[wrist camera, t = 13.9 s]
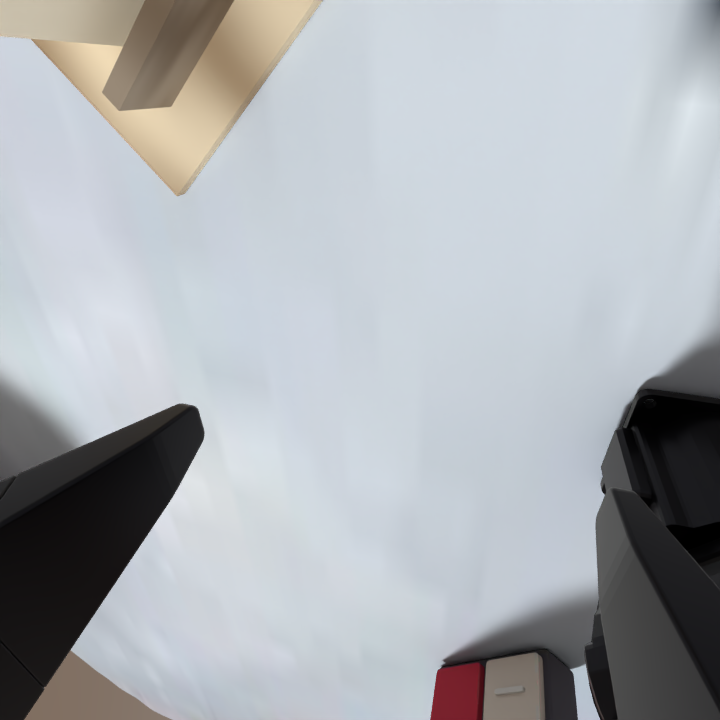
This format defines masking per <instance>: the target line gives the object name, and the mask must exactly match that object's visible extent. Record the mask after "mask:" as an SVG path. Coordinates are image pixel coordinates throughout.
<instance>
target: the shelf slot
mask: <svg viewBox="0 0 720 720" xmlns="http://www.w3.org/2000/svg"><path fill="white" fill-rule="evenodd" d="M322 1H323V0H145V1H144V3H143V6H142V8H141V10H140V12H139V14H138V16H137V18H136V20H135V23H134V25H133V27H132V29H131V31H130V33H129V35H128V38H127V40H126V42H125V44H124V46H112V45H100V44H88V43H76V42H64V41H52V40H39V39H31V40H32V41H33V42H34V43H35V44H36V45H37V46H38V47H39V48H40V49H41V50H42V52H43V53H44V54H45V55H46V56H47V57H48V58H49V59H50V60H51V61H52V62H53V63H54V64H55V66H56V67H57V68H58V69H59V70H60V71H61V72H62V73H63V74H64V75H65V76H66V77H67V78H68V80H69V81H70V82H71V83H72V84H73V85H74V86H75V87H76V88H77V89H78V90H79V91H80V92H81V94H82V95H83V96H84V97H85V98H86V99H87V100H88V101H89V102H90V103H91V104H92V105H93V106H94V108H95V109H96V110H97V111H98V112H99V113H100V114H101V115H102V116H103V117H104V118H105V119H106V120H107V121H108V123H109V124H110V125H111V126H112V127H113V128H114V129H115V130H116V131H117V132H118V133H119V134H120V135H121V137H122V138H123V139H124V140H125V141H126V142H127V143H128V144H129V145H130V146H131V147H132V148H133V149H134V151H135V152H136V153H137V154H138V155H139V156H140V157H141V158H142V159H143V160H144V161H145V162H146V163H147V165H148V166H149V167H150V168H151V169H152V170H153V171H154V172H155V173H156V174H157V175H158V176H159V177H160V179H161V180H162V181H163V182H164V183H165V184H166V185H167V186H168V187H169V188H170V189H171V190H172V191H173V193H174V194H175V195H176V196H179V195H182V194H185V193H186V191H187V190H188V188H189V187H190V186H191V184H192V183H193V181H194V180H195V179H196V177H197V176H198V174H199V173H200V172H201V170H202V169H203V167H204V166H205V165H206V163H207V162H208V160H209V159H210V158H211V156H212V155H213V153H214V152H215V151H216V149H217V148H218V146H219V145H220V144H221V142H222V141H223V139H224V138H225V137H226V135H227V134H228V132H229V131H230V130H231V128H232V127H233V125H234V124H235V123H236V121H237V120H238V118H239V117H240V116H241V114H242V113H243V111H244V110H245V109H246V107H247V106H248V104H249V103H250V102H251V100H252V99H253V97H254V96H255V95H256V93H257V92H258V90H259V89H260V88H261V86H262V85H263V83H264V82H265V81H266V79H267V78H268V76H269V75H270V74H271V72H272V71H273V69H274V68H275V67H276V65H277V64H278V62H279V61H280V60H281V58H282V57H283V55H284V54H285V53H286V51H287V50H288V48H289V47H290V46H291V44H292V43H293V41H294V40H295V39H296V37H297V36H298V34H299V33H300V32H301V30H302V29H303V27H304V26H305V25H306V23H307V22H308V20H309V19H310V18H311V16H312V15H313V13H314V12H315V11H316V9H317V8H318V6H319V5H320V4H321V2H322Z"/></svg>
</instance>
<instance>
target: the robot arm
mask: <svg viewBox="0 0 720 720" xmlns="http://www.w3.org/2000/svg"><path fill="white" fill-rule="evenodd" d="M648 399H653V401H652V402H650V403H644V401H645V400H648ZM203 439H204V428H203V425H202V421H201V417H200V414H199V411H198V409H197V408H196V407H195V406H193V405H188V404H177V405H175V406H172V407H170V408H168V409H165V410H163V411H161V412H159V413H156V414H154V415H152V416H150V417H147V418H145V419H143V420H140V421H138V422H136V423H134V424H131V425H129V426H127V427H124V428H122V429H120V430H118V431H115V432H113V433H111V434H108V435H106V436H104V437H102V438H99V439H97V440H95V441H93V442H90V443H88V444H86V445H83V446H81V447H79V448H77V449H74V450H72V451H70V452H67V453H65V454H63V455H61V456H58V457H56V458H54V459H51V460H49V461H47V462H45V463H42V464H40V465H38V466H36V467H33V468H31V469H29V470H26V471H24V472H22V473H20V474H18V475H17V476H12V477H10V478H8V479H6V480H3V481H1V482H0V720H24V719H25V718H26V716H27V715H28V713H29V712H30V710H31V709H32V707H33V705H34V704H35V703H36V701H37V700H38V698H39V697H40V695H41V694H42V692H43V691H44V687H46V686H47V684H48V683H49V681H50V680H51V678H52V677H53V675H54V674H55V672H56V670H57V669H58V668H59V666H60V665H61V663H62V662H63V660H64V659H65V657H66V656H67V654H68V653H69V651H70V650H71V648H72V647H73V645H74V644H75V642H76V641H77V639H78V638H79V636H80V635H81V633H82V632H83V630H84V629H85V628H86V626H87V625H88V623H89V622H90V620H91V619H92V617H93V616H94V614H95V613H96V611H97V610H98V608H99V607H100V605H101V604H102V602H103V601H104V599H105V598H106V596H107V595H108V593H109V592H110V590H111V589H112V587H113V586H114V584H115V583H116V581H117V580H118V578H119V577H120V575H121V574H122V572H123V571H124V569H125V568H126V566H127V565H128V563H129V562H130V560H131V559H132V557H133V556H134V554H135V553H136V551H137V550H138V548H139V547H140V545H141V544H142V542H143V541H144V539H145V538H146V536H147V535H148V533H149V532H150V530H151V529H152V527H153V526H154V524H155V523H156V521H157V520H158V518H159V517H160V515H161V514H162V512H163V511H164V509H165V508H166V506H167V505H168V503H169V502H170V500H171V499H172V497H173V496H174V494H175V492H176V490H177V489H178V487H179V485H180V483H181V481H182V479H183V478H184V476H185V474H186V472H187V470H188V468H189V466H190V464H191V463H192V461H193V459H194V457H195V455H196V453H197V451H198V450H199V448H200V446H201V444H202V442H203ZM601 470H602V474H603V478H602V480H601V489H602V492H603V493H604V494H605V497H604V499H603V502H602V504H601V506H600V509H599V511H598V514H597V517H596V547H597V569H598V591H599V601H598V607H597V612H596V614H595V615H594V625H593V634H592V641H591V643H588V644H586V646H585V654H584V656H585V662H586V668H587V673H588V679H589V686H590V690H591V693H592V697H593V701H594V704H595V707H596V709H597V712H598V715H599V717H600V720H720V399H716V398H709V397H702V396H695V395H688V394H681V393H673V392H666V391H659V390H652V389H646V390H642V391H640V392H639V393H637V394H636V396H635V398H634V400H633V403H632V405H631V408H630V410H629V413H628V415H627V418H626V420H625V423H624V425H623V427H620V428H618V429H617V430H615V432H614V435H613V437H612V440H611V442H610V445H609V448H608V450H607V453H606V455H605V458H604V460H603V463H602V466H601Z"/></svg>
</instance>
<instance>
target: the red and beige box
mask: <svg viewBox="0 0 720 720" xmlns="http://www.w3.org/2000/svg"><path fill="white" fill-rule="evenodd" d="M430 720H578V717H577V706H576V696H575V685H574V676H573V673H572V671H571V670H570V669H569V668H567V667H566V666H565V665H564V664H563V663H562V662H561V661H559V660H558V659H557V658H556V657H555V656H554V655H552V654H551V653H550V652H549V651H548V650H546V649H542V650H536V651H531V652H525V653H519V654H514V655H508V656H503V657H497V658H491V659H486V660H480V661H474V662H469V663H463V664H457V665H452V666H446V667H442V668H440V669H439V670H438V671H437V675H436V683H435V690H434V697H433V705H432V712H431V719H430Z"/></svg>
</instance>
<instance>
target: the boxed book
mask: <svg viewBox="0 0 720 720" xmlns="http://www.w3.org/2000/svg"><path fill="white" fill-rule="evenodd" d="M144 1H145V0H0V36H3V37H15V38H27V39H39V40H52V41H64V42H76V43H88V44H100V45H112V46H124V44H125V42H126V40H127V38H128V35H129V33H130V31H131V29H132V27H133V25H134V23H135V20H136V18H137V16H138V14H139V12H140V10H141V8H142V6H143V3H144Z"/></svg>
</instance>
